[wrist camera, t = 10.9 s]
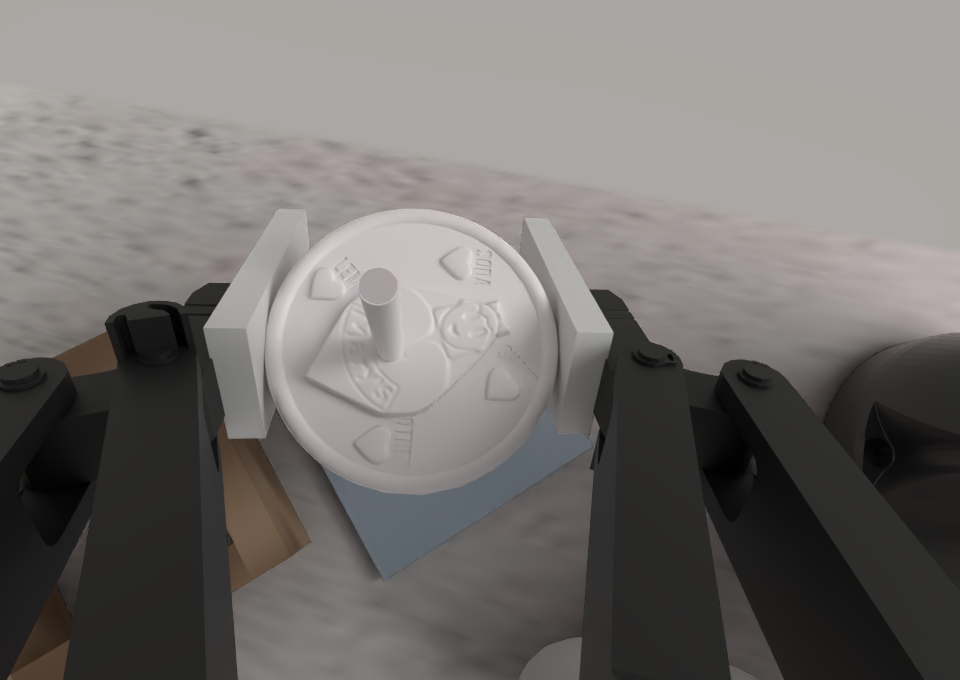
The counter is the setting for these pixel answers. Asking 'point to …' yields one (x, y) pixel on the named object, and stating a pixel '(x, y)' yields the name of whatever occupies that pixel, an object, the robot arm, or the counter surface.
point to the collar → (249, 520)
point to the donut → (575, 663)
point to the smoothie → (411, 351)
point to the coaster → (449, 500)
